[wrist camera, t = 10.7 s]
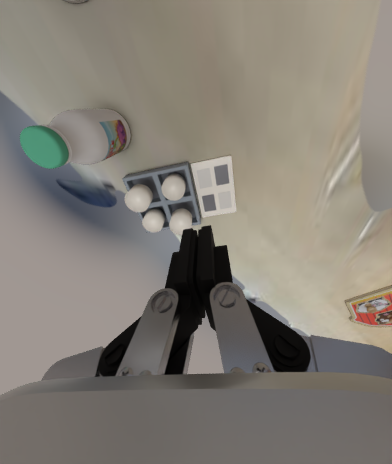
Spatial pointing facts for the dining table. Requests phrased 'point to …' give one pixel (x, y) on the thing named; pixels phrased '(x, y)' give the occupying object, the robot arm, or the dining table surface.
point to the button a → (139, 198)
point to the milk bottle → (76, 138)
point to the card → (215, 186)
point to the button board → (154, 182)
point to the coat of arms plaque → (372, 308)
